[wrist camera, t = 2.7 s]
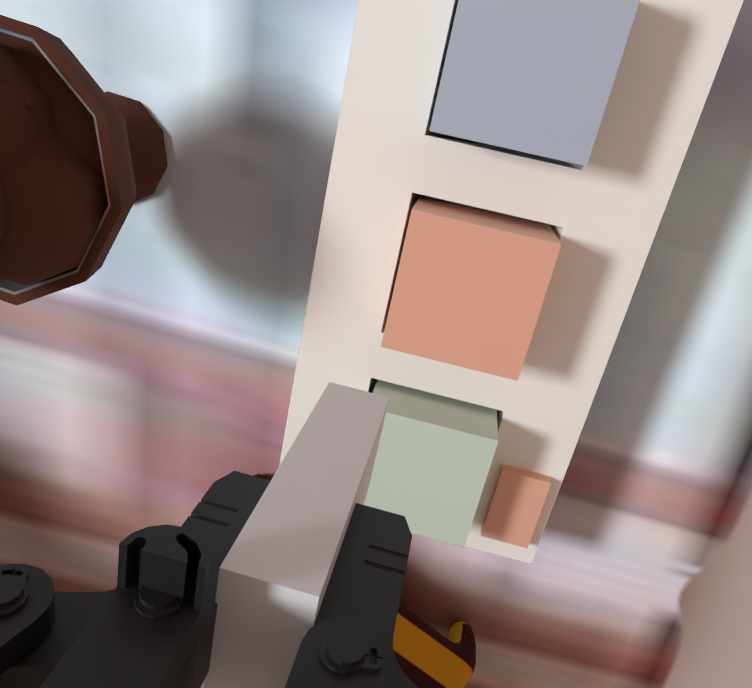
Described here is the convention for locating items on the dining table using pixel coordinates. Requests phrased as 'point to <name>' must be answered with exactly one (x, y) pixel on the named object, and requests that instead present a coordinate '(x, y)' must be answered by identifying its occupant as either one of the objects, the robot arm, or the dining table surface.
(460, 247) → the terracotta key
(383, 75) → the console
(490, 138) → the slate key
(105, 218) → the ice cream bowl
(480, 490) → the sage key
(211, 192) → the dining table surface
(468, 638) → the decorative lantern
